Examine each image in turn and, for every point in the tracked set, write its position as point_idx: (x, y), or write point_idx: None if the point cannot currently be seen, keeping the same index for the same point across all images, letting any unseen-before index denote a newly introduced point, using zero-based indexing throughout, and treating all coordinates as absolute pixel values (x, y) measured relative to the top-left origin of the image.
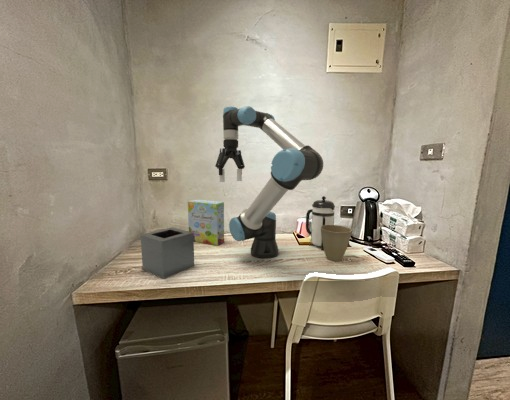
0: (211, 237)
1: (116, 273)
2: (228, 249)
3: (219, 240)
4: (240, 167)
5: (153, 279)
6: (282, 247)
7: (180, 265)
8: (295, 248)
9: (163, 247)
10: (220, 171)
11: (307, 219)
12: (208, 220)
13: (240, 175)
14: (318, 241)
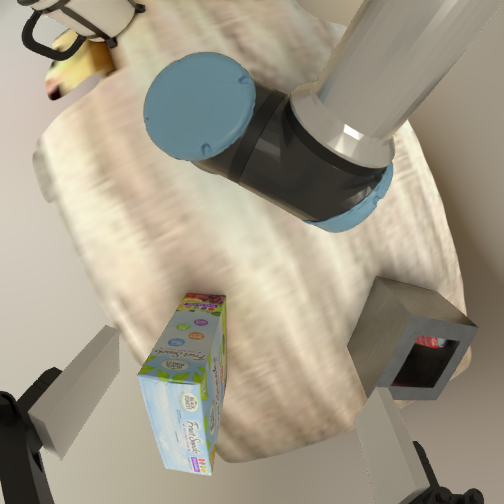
0: (224, 326)
1: None
2: (240, 250)
3: (213, 300)
4: (28, 439)
5: None
6: None
7: (414, 289)
8: (152, 65)
9: (469, 319)
10: (429, 470)
11: (43, 48)
12: (217, 369)
13: (88, 369)
14: (129, 11)
